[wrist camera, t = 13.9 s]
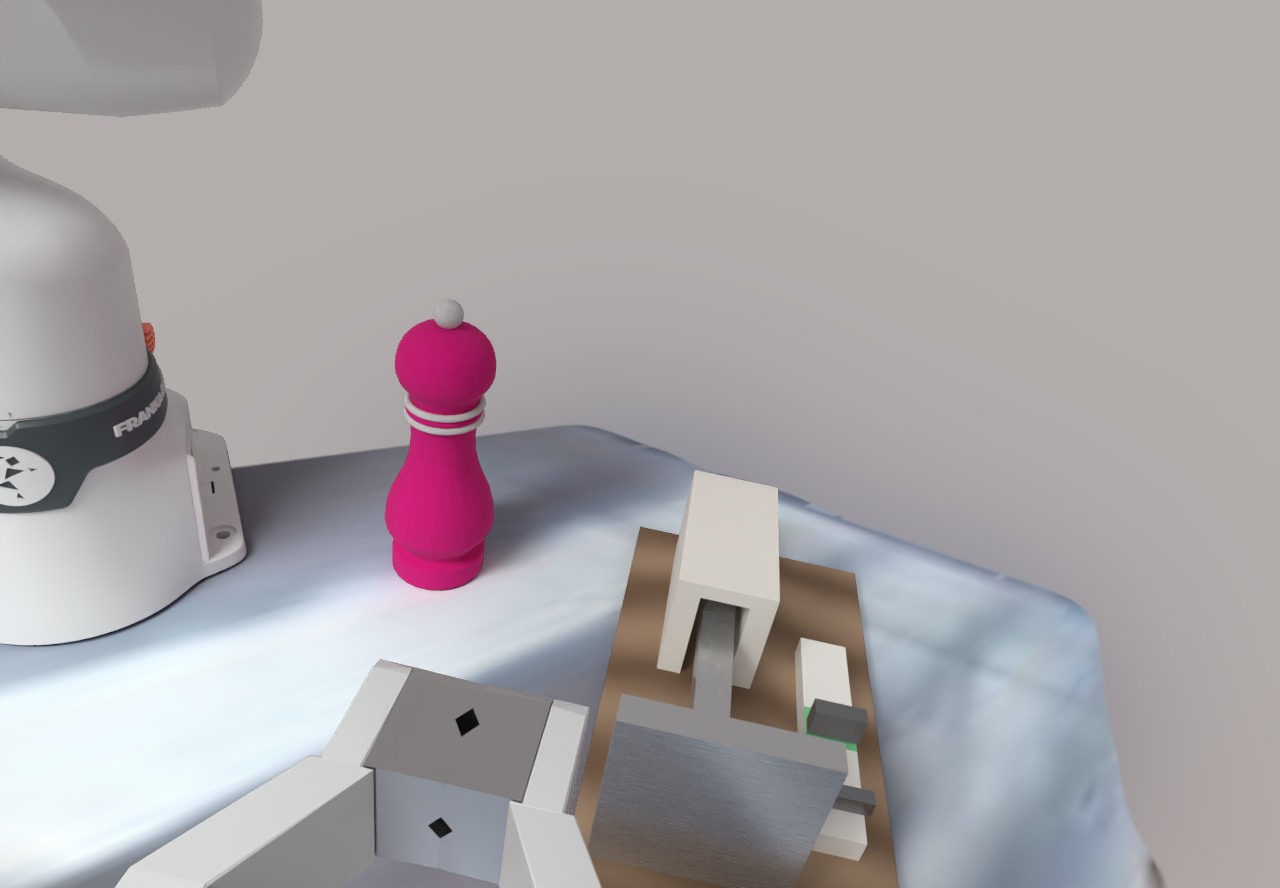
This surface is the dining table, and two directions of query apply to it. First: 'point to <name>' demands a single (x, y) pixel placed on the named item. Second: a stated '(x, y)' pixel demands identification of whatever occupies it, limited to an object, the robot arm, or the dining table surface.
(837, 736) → the block
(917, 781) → the dining table surface
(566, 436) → the dining table surface
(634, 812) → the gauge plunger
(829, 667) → the gauge scale
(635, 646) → the board
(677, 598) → the block
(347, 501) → the dining table surface
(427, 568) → the pepper mill
